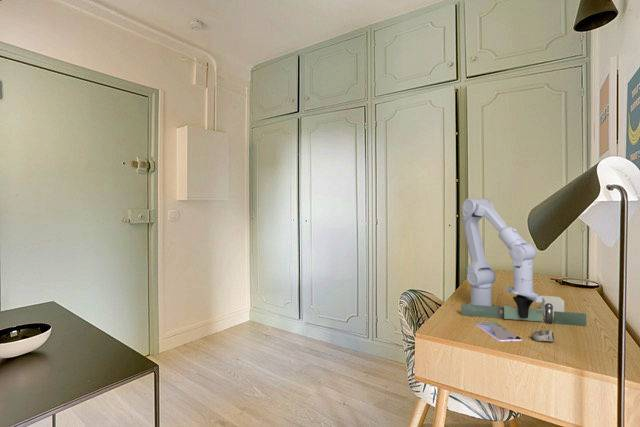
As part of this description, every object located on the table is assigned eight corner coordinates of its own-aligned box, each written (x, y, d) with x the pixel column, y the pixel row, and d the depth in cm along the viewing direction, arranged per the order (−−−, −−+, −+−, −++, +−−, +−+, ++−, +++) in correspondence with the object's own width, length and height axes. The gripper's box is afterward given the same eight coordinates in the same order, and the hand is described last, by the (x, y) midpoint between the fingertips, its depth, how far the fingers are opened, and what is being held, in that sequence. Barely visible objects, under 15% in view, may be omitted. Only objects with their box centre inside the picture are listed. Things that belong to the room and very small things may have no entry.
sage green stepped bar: (542, 320, 113) (542, 307, 113) (544, 321, 111) (544, 309, 111) (503, 317, 116) (503, 305, 116) (504, 318, 115) (504, 306, 114)
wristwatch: (544, 337, 100) (560, 341, 95) (529, 341, 98) (545, 346, 94) (542, 325, 100) (558, 329, 96) (527, 330, 99) (542, 333, 94)
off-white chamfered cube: (564, 317, 117) (564, 301, 117) (544, 315, 119) (544, 299, 119) (559, 312, 122) (559, 296, 122) (540, 310, 125) (540, 295, 125)
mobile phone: (499, 339, 97) (474, 321, 112) (499, 342, 97) (474, 324, 112) (524, 339, 97) (495, 321, 112) (524, 342, 97) (495, 324, 112)
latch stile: (461, 314, 121) (461, 303, 121) (504, 317, 117) (504, 306, 117) (461, 315, 120) (461, 305, 120) (505, 318, 116) (505, 307, 116)
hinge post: (543, 321, 113) (543, 302, 113) (583, 324, 110) (583, 304, 110) (546, 323, 111) (546, 304, 111) (587, 326, 107) (587, 306, 107)
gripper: (498, 274, 119) (499, 311, 119) (528, 283, 104) (528, 325, 104) (516, 274, 120) (516, 310, 120) (548, 282, 105) (548, 324, 105)
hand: (523, 317), depth 112 cm, fingers closed, pressing on sage green stepped bar
